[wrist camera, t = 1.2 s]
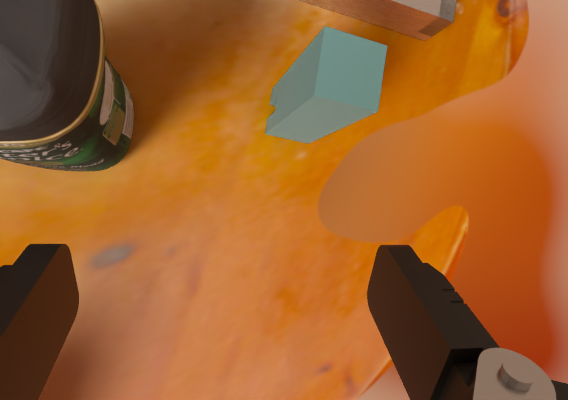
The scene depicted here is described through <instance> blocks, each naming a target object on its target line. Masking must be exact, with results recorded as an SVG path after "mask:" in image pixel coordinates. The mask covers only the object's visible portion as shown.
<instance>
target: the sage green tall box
mask: <svg viewBox="0 0 568 400" xmlns="http://www.w3.org/2000/svg"><path fill="white" fill-rule="evenodd" d="M386 52H387V45H384V44H381V43H378V42H374V41H371V40H368V39H365V38H362V37H358V36H355V35H352V34H349V33H346V32H342V31H339V30H336V29H333V28H330V27H326V26H325V27H324V28H323V29H322V30H321V31H320V32H319V34H318V35H317V36H316V37H315V38H314V40H313V41H312V42H311V43H310V44H309V46H308V47H307V48H306V49H305V50H304V52H303V53H302V54H301V55H300V56H299V58H298V59H297V60H296V61H295V62H294V64H293V65H292V66H291V67H290V68H289V69H288V71H287V72H286V73H285V74H284V75H283V77H282V78H281V79H280V80H279V81H278V83H277V84H276V85H275V86H274V87H273V89H272V94H271V100H270V105H274V106H276V108H275V112H274V113H273V114H271V115H270V116H269V117H268V119H267V125H266V131H265V134H267V135H272V136H276V137H281V138H285V139H290V140H294V141H299V142H303V143H308V144H309V143H311V142H313V141H315V140H317V139H320V138H322V137H324V136H326V135H328V134H330V133H333V132H335V131H337V130H339V129H341V128H343V127H346V126H348V125H350V124H352V123H354V122H356V121H359V120H361V119H363V118H365V117H367V116H369V115H372V114H374V113H376V112H378V107H379V100H380V93H381V86H382V79H383V72H384V66H385V59H386Z"/></svg>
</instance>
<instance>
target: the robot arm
mask: <svg viewBox="0 0 568 400" xmlns="http://www.w3.org/2000/svg"><path fill="white" fill-rule="evenodd" d="M367 299H368V306H369V309H370V312H371V314H372V316H373V318H374V321H375V323H376V325H377V327H378V329H379V332H380V334H381V336H382V338H383V340H384V343H385V345H386V347H387V349H388V351H389V354H390V356H391V358H392V360H393V363H394V365H395V367H396V369H397V371H398V374H399V376H400V378H401V380H402V382H403V385H404V387H405V389H406V391H407V393H408V396H409V398H410V400H568V384H566V383H562V382H557V381H553V380H550V379H549V377H548V376H547V375H546V374H545V372H544V371H543V370H542V369H541V368H540V367H538V366H537V365H536V364H535V363H534V362H532V361H531V360H529V359H528V358H526V357H524V356H523V355H520V354H518V353H516V352H513V351H511V350H507V349H503V348H500V347H499V346H498V345H497V343H496V342H495V341H494V339H493V338H492V337H491V336H490V334H489V333H488V332H487V330H486V329H485V328H484V327H483V325H482V324H481V323H480V321H479V320H478V319H477V318H476V316H475V315H474V314H473V312H472V311H471V310H470V308H469V307H468V306H467V304H464V302H463V299H462V298H461V297H460V296H459V294H458V293H457V292H455V291H454V288H453V286H452V285H451V284H450V282H449V281H448V280H447V279H446V277H445V276H444V275H443V274H442V273H440V272H439V271H438V270H436V269H435V268H434V267H432V266H431V265H430V264H428V263H422V261H421V260H420V259H419V257H418V256H417V255H416V253H415V252H414V250H413V249H412V248H411V247H410V246H409V245H381V246H380V247H379V248H378V250H377V254H376V258H375V262H374V266H373V270H372V273H371V277H370V281H369V285H368V291H367ZM78 305H79V293H78V287H77V282H76V277H75V273H74V268H73V263H72V258H71V253H70V249H69V247H68V246H67V245H66V244H30V245H28V246H27V247H26V249H25V250H24V251H23V252H22V254H21V255H20V256H19V258H18V259H17V260H16V261H15V263H14V264H13V265H3V266H2V267H0V400H38V398H39V396H40V394H41V392H42V389H43V387H44V385H45V383H46V381H47V379H48V376H49V374H50V372H51V370H52V368H53V365H54V363H55V361H56V359H57V357H58V355H59V352H60V350H61V348H62V346H63V344H64V342H65V339H66V337H67V335H68V333H69V331H70V329H71V326H72V324H73V322H74V320H75V318H76V315H77V311H78Z"/></svg>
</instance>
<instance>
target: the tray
mask: <svg viewBox="0 0 568 400" xmlns="http://www.w3.org/2000/svg"><path fill="white" fill-rule="evenodd" d="M301 1H304V2H307V3H310V4H313V5H316V6H319V7H322V8H325V9H328V10H331V11H334V12H337V13H340V14H343V15H347V16H350V17H353V18H356V19H359V20H362V21H365V22H368V23H371V24H374V25H377V26H380V27H383V28H386V29H389V30H392V31H396V32H399V33H402V34H405V35H408V36H411V37H414V38H417V39H420V40H423V41H425V40H427V39H428V38H430V37H431V36H433V35H435V34H436V33H438V32H439V31H441V30H442V29H444V28H445V27H447V26H448V25H450V24H451V23H453V21H454V14H455V7H456V0H301Z"/></svg>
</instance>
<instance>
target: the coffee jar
mask: <svg viewBox="0 0 568 400" xmlns="http://www.w3.org/2000/svg"><path fill="white" fill-rule="evenodd" d="M133 121H134V111H133V101H132V98H131V95H130V93H129V91H128V88H127V87H126V85H125V83H124V82H123V80H122V78H121V77H120V75H119V74H118V73H117V72H116V70H115V69H114V68H113V66H112V65H111V64H110V62H109V61H108V59H107V57H106V56H105V42H104V31H103V24H102V19H101V15H100V11H99V8H98V6H97V4H96V1H95V0H0V159H4V160H8V161H12V162H15V163H20V164H25V165H29V166H35V167H40V168H46V169H54V170H65V171H99V170H104V169H107V168H110V167H112V166H114V165H115V164H117V163H118V162H119V161H120V160H121V159H122V158H123V157H124V155H125V154H126V152H127V150H128V147H129V144H130V140H131V136H132V130H133Z"/></svg>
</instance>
